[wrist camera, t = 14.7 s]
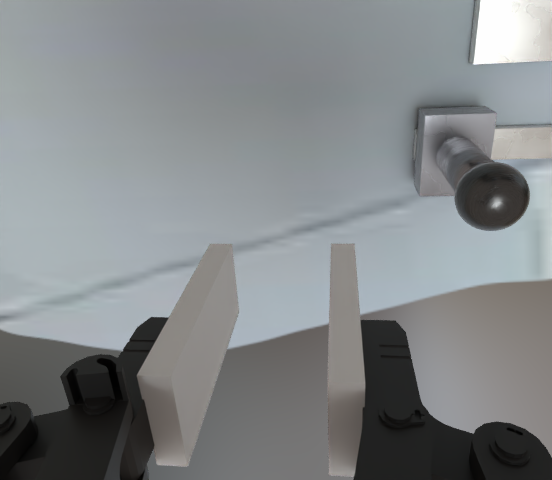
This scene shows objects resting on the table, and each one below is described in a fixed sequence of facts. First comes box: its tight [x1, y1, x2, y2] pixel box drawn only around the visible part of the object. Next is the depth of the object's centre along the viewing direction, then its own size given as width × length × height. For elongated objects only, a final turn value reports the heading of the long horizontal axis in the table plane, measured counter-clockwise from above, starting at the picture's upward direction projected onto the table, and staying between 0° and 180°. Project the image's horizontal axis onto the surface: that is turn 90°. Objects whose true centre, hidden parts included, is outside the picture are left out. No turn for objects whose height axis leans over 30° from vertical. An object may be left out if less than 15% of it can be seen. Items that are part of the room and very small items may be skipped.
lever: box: [414, 106, 530, 231], centre depth 26 cm, size 5×4×11 cm
